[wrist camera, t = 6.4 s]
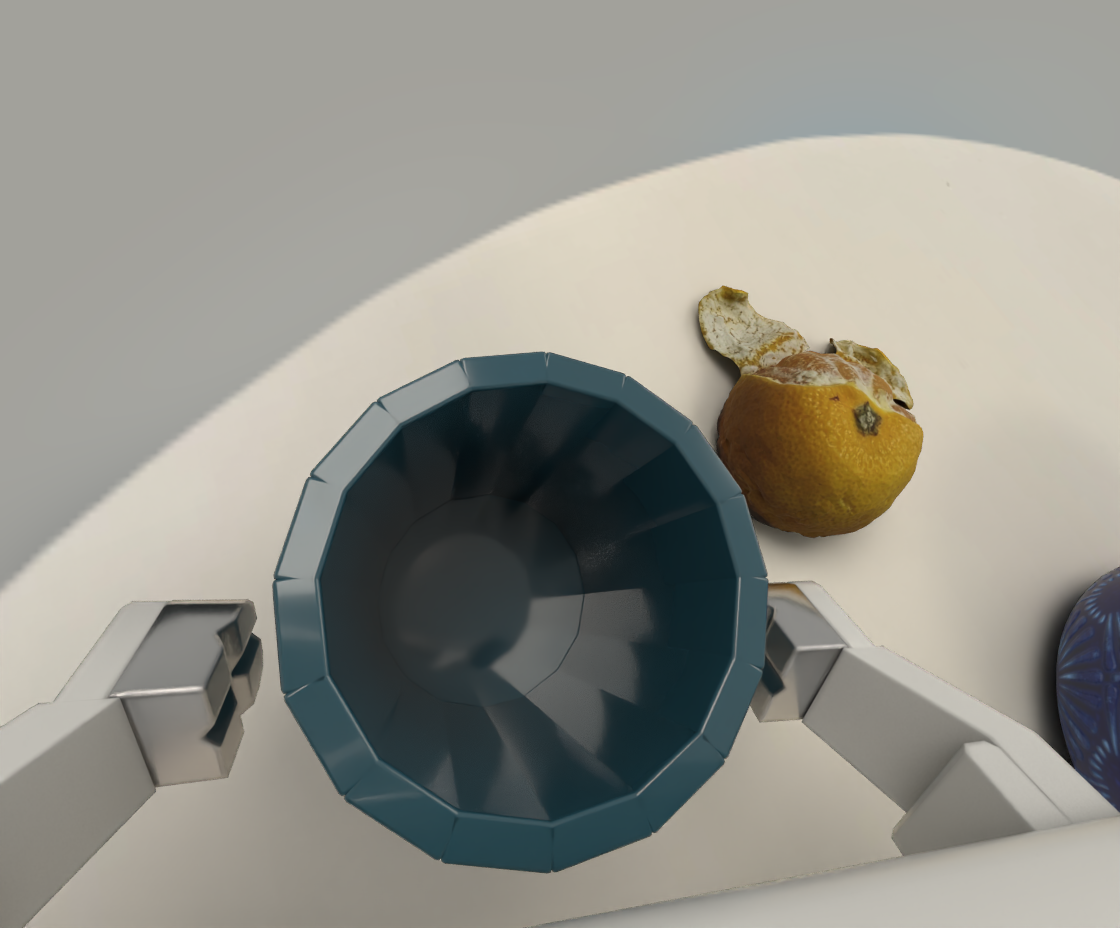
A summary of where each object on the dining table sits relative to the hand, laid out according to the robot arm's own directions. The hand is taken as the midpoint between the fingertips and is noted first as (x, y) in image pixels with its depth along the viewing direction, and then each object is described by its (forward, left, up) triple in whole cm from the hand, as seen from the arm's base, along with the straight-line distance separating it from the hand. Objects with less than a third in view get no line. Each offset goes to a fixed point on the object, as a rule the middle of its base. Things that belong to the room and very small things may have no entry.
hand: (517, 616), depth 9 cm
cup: (0, 0, -5) cm, 5 cm away
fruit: (+12, +4, -5) cm, 14 cm away
